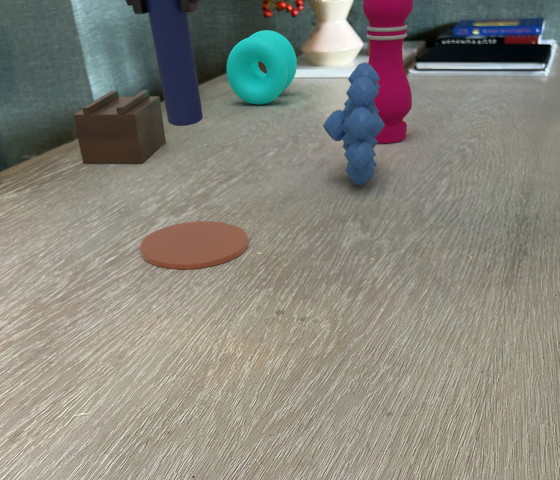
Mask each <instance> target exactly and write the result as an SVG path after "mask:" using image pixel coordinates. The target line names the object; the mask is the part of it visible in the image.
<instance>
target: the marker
mask: <svg viewBox="0 0 560 480" xmlns="http://www.w3.org/2000/svg"><path fill="white" fill-rule="evenodd" d="M146 3H147V8H148V13H147V14H148V19H149V23H150V29H151V35H152V41H153V44H154V52H155V55H156V56H155V57H156V62H157V67H158V72H159V78H160V79H159V80H160V85H161V87H162V88H161V89H162V94H163V100H164V105H165V112H166V117H167V122H168V123H169V124H170V125H172V126H177V127H187V126H192V125H195V124H198V123H199V122H201V121H202V120H203V118H204V115H203V109H202V102H201V101H202V100H201V96H200V95H201V94H200V88H199V81H198V74H197V67H196V61H195V54H194V48H193V47H194V45H193V41H192V34H191V27H190V21H189V14H188V13H189V12H184V13H183V12H182V10H181V4H180V0H146Z"/></svg>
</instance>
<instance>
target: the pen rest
mask: <svg viewBox="0 0 560 480" xmlns="http://www.w3.org/2000/svg"><path fill="white" fill-rule="evenodd" d="M72 117H73V121H74V127H75V130H76V136H77V140H78V145H79V150H80V155H81V160H82V163H83V164H140V165H141V164H142V165H143V163H144V162H146V160H148V159H149V158H150V157H151V156H152V155H153V154H154V153H155V152H157V150H159V149H160V148H161V147H162V146H163V145H164V144H165V143H166V142H167V141H166V135H165V126H164V120H163V118H164V117H163V112H162V104H161V98H160V96H159V95H157V96H155V95H154V96H153V95H152V96H150V91H149V89H143V90H141V91H140V92H138V93H137V94H135V95H134V96H119V91H118V90H111V91H108V92H107V93H106V94H104V95H102V96H101V97H98V98H97V99H95V100H94V101H92V102H90V103H89V104H86V105H85V106H83V107H82V109H80V110H79V111H77V112H76V113H74V114H73V115H72Z"/></svg>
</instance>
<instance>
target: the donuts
mask: <svg viewBox="0 0 560 480" xmlns="http://www.w3.org/2000/svg"><path fill="white" fill-rule="evenodd" d="M259 62H261V63H262V64H263V65H264V67H265V69H266V73H265V72H263V71H262V70H261V69H260V66H259ZM297 66H298V59H297V55H296V51H295V49H294V46H293V45H292V44H291V42H290V41H289V39H288V38H286V37H285V36H284V35H283V34H281V33H280V32H277V31H275V30H270V29H269V30H268V29H264V30H259V31H256V32H254V33H253V34H251V35H249V36H248V37H246V38H244V39H242V40H240V41H239V42H237V43H236V44H235V45H234V47H233V48H232V49H231V51H230V53H229V55H228V58H227V61H226V78H227V81H228V83H229V86H230V88H231V90H232V91H233V92H234V94H235V95H236V96H237V97H238V98H240V100H242V101H244V102H246V103H247V104H251V105H257V106H258V105H260V106H261V105H267V104H269V103H271V102H273V101H274V100H276V99H277V98H278V97H279V96H281V94H282V93H283V91H285V90H287V89H288V87H289V86H291V84H292V83H293V80H294V79H295V76H296V73H297Z"/></svg>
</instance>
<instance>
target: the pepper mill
mask: <svg viewBox="0 0 560 480" xmlns="http://www.w3.org/2000/svg"><path fill="white" fill-rule="evenodd" d="M413 7H414V0H363V3H362V10H363V14H364V17H366V19H367V20H368V22H369V25H367V26H366V33H367V34H366V38H367V40H369V55H368V62H367V63H368V64H370V65H371V66H372V67H373V68H374V70H375V71H376V73H377V75H378V76H379V78H380V79H379V81H378V82H377V83H378V84H379V86H380V88H379V89H378V92H379V93H378V95H377V96H376V98H375V99H374V100H373V101H374V102H375V106H376V107H377V109H378V111H379V113H378V115H379V116H380V118H381V119H382V121H383V123H384V124H385V126H384V127H383V129H382V130H381V132H380V133H379V134H378V135H377V137H376V139H377V141H378V143H377V144H394V143H398V142H401V141H404V140H405V139H406V138H407V131H408V124H407V122H406V121H405V120H404V118H405V117H406V116H407V115H408V114H409V113H410V112H411V109H412V108H413V107H412V106H413V97H412V96H413V94H412V90H411V89H412V88H411V86H410V83H409V80H408V77H407V74H406V73H407V72H406V69H405V64H404V58H403V57H404V55H403V48H404V41H405V38H406V37H408V33H407V29H408V25H407V24H406V23H405V22H406V20H407V19H408V17H410V15H411V13H412V11H413Z"/></svg>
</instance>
